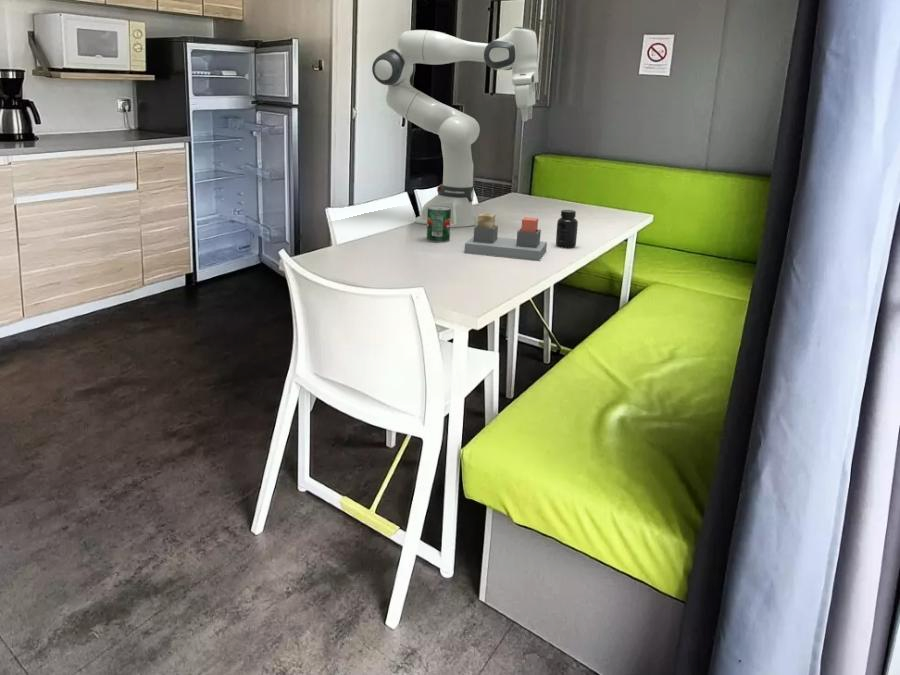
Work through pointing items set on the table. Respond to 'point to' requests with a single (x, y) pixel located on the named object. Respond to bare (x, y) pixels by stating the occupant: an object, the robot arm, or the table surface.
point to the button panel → (506, 244)
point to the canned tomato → (438, 223)
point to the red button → (529, 225)
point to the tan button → (486, 220)
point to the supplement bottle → (567, 229)
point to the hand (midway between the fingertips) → (527, 120)
